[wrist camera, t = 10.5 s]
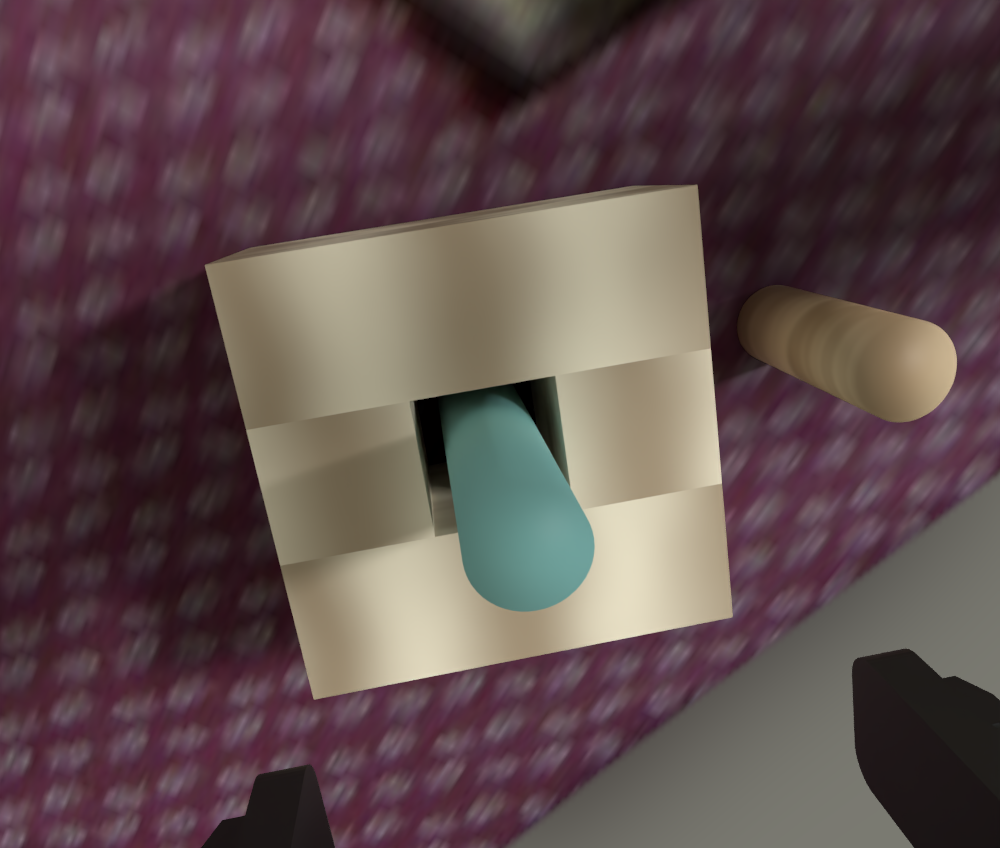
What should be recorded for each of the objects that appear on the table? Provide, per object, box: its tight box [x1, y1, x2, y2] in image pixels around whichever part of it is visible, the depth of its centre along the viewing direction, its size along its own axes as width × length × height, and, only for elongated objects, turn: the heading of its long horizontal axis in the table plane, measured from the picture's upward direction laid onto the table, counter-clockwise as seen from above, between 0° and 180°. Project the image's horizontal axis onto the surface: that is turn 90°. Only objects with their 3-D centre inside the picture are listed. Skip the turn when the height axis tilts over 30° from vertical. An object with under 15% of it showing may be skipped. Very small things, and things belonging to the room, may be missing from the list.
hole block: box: [205, 185, 733, 699], centre depth 29 cm, size 14×14×7 cm
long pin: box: [438, 383, 595, 612], centre depth 25 cm, size 3×3×14 cm
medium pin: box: [737, 285, 957, 422], centre depth 28 cm, size 3×3×9 cm
